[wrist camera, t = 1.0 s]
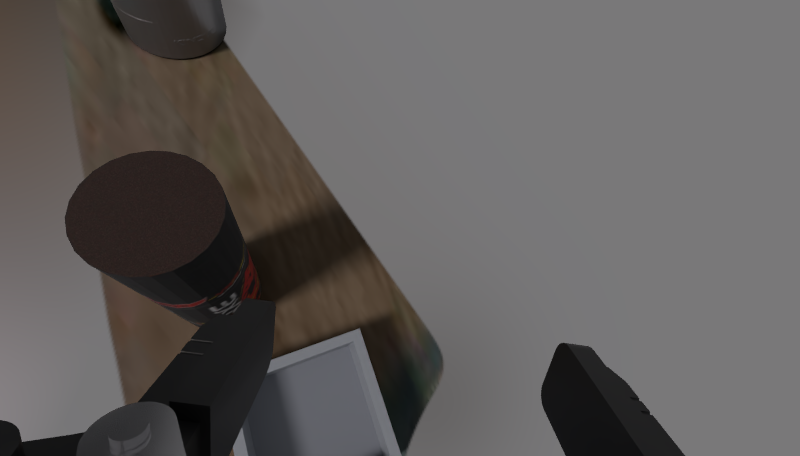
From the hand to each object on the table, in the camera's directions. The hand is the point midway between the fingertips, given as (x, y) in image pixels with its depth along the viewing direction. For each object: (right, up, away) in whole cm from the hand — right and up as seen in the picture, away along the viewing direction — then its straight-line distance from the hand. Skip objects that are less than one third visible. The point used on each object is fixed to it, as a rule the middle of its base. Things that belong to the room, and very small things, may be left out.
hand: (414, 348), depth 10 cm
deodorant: (-14, -2, +19) cm, 24 cm away
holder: (-7, -11, +17) cm, 21 cm away
